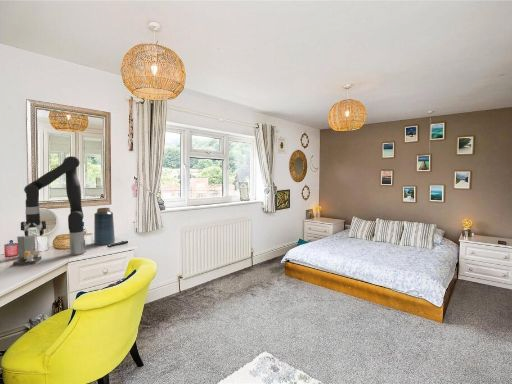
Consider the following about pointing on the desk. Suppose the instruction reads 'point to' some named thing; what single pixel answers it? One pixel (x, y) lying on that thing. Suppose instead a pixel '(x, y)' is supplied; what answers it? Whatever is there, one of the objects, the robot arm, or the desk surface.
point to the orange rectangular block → (26, 255)
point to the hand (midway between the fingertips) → (34, 235)
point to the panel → (29, 259)
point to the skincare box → (26, 244)
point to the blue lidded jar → (103, 227)
